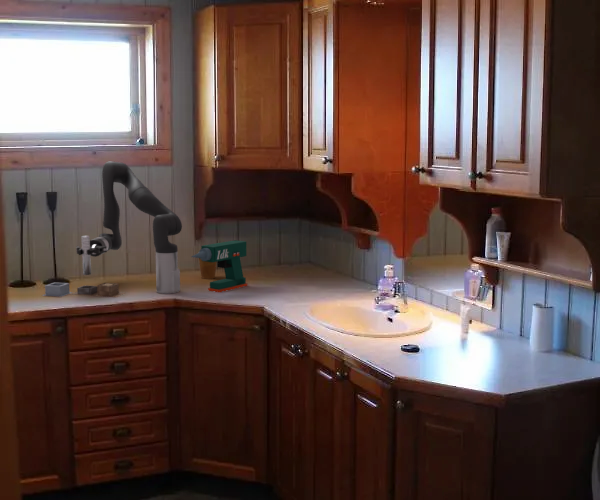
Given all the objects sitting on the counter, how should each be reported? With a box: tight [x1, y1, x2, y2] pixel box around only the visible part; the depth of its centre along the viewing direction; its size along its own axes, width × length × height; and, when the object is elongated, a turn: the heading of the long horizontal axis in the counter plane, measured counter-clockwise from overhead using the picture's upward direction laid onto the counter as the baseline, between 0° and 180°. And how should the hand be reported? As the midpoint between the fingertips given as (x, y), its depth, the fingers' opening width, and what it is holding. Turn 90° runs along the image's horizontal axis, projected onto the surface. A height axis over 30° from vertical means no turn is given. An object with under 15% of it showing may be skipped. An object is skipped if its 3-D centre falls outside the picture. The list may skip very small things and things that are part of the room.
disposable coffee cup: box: [198, 258, 217, 280], centre depth 380 cm, size 10×10×12 cm
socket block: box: [70, 282, 126, 298], centre depth 339 cm, size 21×9×5 cm, turn 75°
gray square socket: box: [41, 282, 74, 298], centre depth 338 cm, size 9×9×5 cm
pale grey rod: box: [80, 235, 92, 276], centre depth 338 cm, size 3×3×16 cm
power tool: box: [191, 240, 248, 293], centre depth 350 cm, size 32×7×20 cm, turn 143°
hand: (83, 252), depth 335 cm, fingers closed on pale grey rod, 3 cm apart
